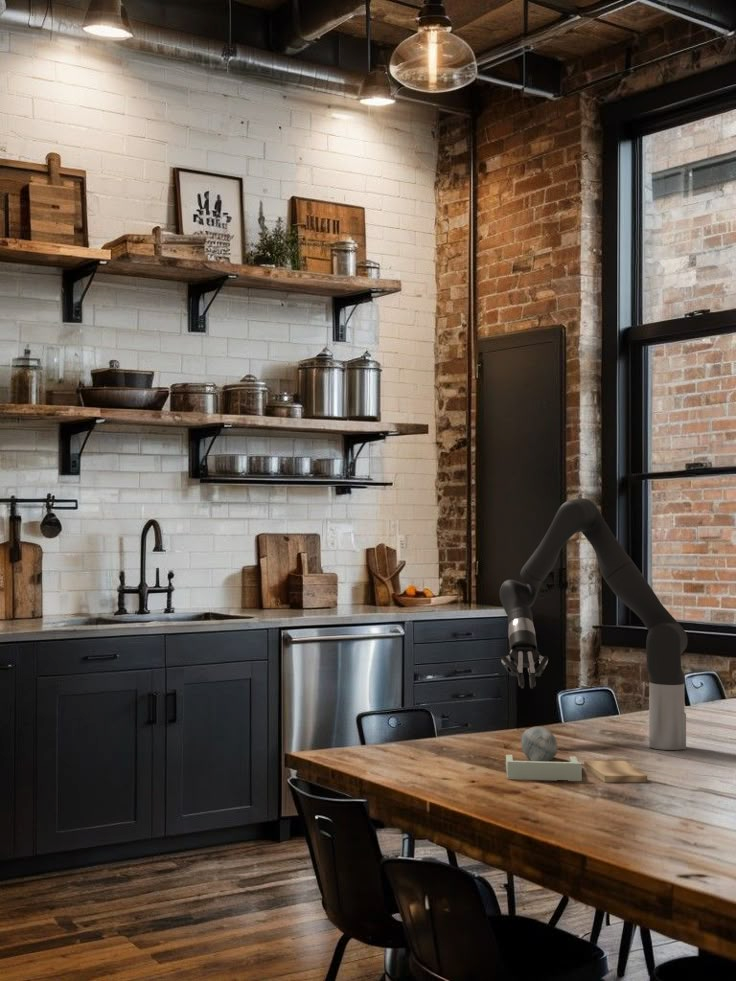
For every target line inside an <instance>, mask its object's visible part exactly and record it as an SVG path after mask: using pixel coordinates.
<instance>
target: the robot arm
mask: <svg viewBox="0 0 736 981" xmlns="http://www.w3.org/2000/svg"><path fill="white" fill-rule="evenodd" d="M580 532H581V533H582V535H583V536H584V537H585V538H586V539H587V541H588V542H589V544H590V545H591V546H592V549H593V551H594V553H595V556H596V560H597V564H598V568H599V571H600V574H601V576H602V578H603V579H604V581H605V582H606V584H607V585H608V587H609V589H611V591H612V592H613V593H614V595H615V597H617V598H618V599H619V600H620V601H621V603H623V604H624V605H625V606H626V607H628V608H629V609H630V610H631V611H632V612H633V613H634V614H635V615H636V616H637V617H638V618H639V619H640V620H641V621H642V623H643V625H644V626H645V627H646V629H647V630H648V633H647V636H646V642H645V643H646V644H645V646H646V647H645V649H646V652H645V653H646V655H645V656H646V670H647V674H648V681H649V682H648V683H649V684H648V698H649V700H648V701H649V702H648V715H649V716H648V745H649V748H652V749H656V750H662V751H663V750H664V751H680V750H687V713H686V712H685V710H686V709H685V706H686V705H685V674H684V672H683V670H682V668H683V667H682V659H681V658H682V657H681V655H682V653H684V651H685V650H686V649H687V646H688V635H687V633H686V631H685V629H684V628H683V626H682V625H681V624H680V623H679V622H678V621H677V620H676V618H674V617H673V615H672V614H671V613H670V612H669V611H668V609H667V608H665V606H664V605H663V603H662V602H661V601H660V599H659V597H657V594H656V593H655V592H654V590H653V588H652V587H651V586H650V584H649V583H648V581H647V580H646V578H645V576H644V575H643V573H642V572H641V571H640V569H639V568H638V566H637V565H636V564H635V563H634V561H633V559H632V558H631V557H630V556H629V554H628V553H627V551H626V550H625V549H624V547H623V546H622V545H621V543H620V542H619V540H618V539H617V538H616V537H615V535H614V534H613V532H612V531H611V528H610V527H609V525H608V523H607V521H605V519H604V516H603V515H602V512H601V511H600V509H599V508H598V507H597V505H596V504H595V503H594V502H593V501H592V500H590V499H588V498H582V497H581V498H576V499H570V500H567V501H565V502H564V503H562V504H561V505H560V507H559V508H558V510H557V512H556V513H555V515H554V517H553V520H552V521H551V524H550V525H549V528H548V529H547V531H546V533H545V535H544V537H543V538H542V540H541V541H540V543H539V545H538V546H537V547H536V549H535V550H534V551H533V553H532V554H531V555H530V557H529V558H528V559H527V561H526V563H525V564H524V565H523V566H522V568H521V570H520V577H521V579H522V580H523V581H524V582H525V583H526V584H525V583H522V582H520V581H517V580H514V579H507V580H505V581H503V583H502V584H501V586H500V588H499V600H500V602H501V605H502V607H503V610H504V612H505V614H506V616H507V624H508V641H509V643H508V644H509V654H508V655H502V656H501V663H500V664H502V666H503V667H504V668H505V670H506V671H507V672H508V673H509V675H510V676H511V677H517V682H518V687H520V688H521V689H524V688H525V675H524V673H523V668H524V669H525V668H526V669H527V672H528V675H529V677H528V680H529V687H530V689H534V687H536V683H537V682H536V681H537V680H536V677H541V675H542V674H543V672H544V670H545V668H546V667H547V665H548V661H549V656H547V655H544V656H542V655H541V654H540V652H539V651H538V645H537V638H536V630H535V627H534V620H533V618H534V617H533V613H532V609H531V607H532V606H533V605H534V603H535V601H536V599H537V596H538V594H539V593H538V592H539V590H540V588H541V586H542V584H543V582H544V581H545V579H546V578H547V577H548V576H549V574H550V573H551V571H552V570H553V569H554V567H555V565H556V563H557V561H558V558H559V554H560V552H561V550H562V549H563V547H564V546H565V544H566V543H567V542H568V541H569V540H570V538H572V537H573V536H574V535H575V534H577V533H580ZM537 662H539V664H538V667H537V668H536V669H535V664H536V663H537ZM513 664H514V665H515V666H516V667H515V666H514V665H513Z"/></svg>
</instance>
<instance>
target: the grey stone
mask: <svg viewBox="0 0 736 981" xmlns="http://www.w3.org/2000/svg"><path fill="white" fill-rule="evenodd" d="M520 741H521V747H522V748H521V749H522V750H523V753H524V756H525V757H526V758H527V759H528V761H544V762H550V761H552V759H553V758H554V757H555V756H556V755H557V753H558V743H557V739H556V738H555V736H554V734H553V732H551V731H550V730H549V729H548V728H547V727H544V726H533V727H530V728H527V729H525V731H524V732H523V733H522V735H521V740H520Z"/></svg>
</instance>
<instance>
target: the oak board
mask: <svg viewBox="0 0 736 981" xmlns="http://www.w3.org/2000/svg"><path fill="white" fill-rule="evenodd" d="M583 762H584V763H583V767H585V768H584V769H586V770H587V769H588V770H587V771H589V773H591V772H592V773H591V774H593V775H594V776H595V777H596V778H598V779H599V778H600V779H599V780H600V781H602V782H603V783H648V774H645V772H642V771H641V770H639V769H638V768H636V767H635V766H633V765H632V764H630V763H628V761H625V760H586V761H585V760H584V761H583Z"/></svg>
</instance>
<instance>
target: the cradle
mask: <svg viewBox="0 0 736 981" xmlns="http://www.w3.org/2000/svg"><path fill="white" fill-rule="evenodd" d="M582 769H583V764H582V762H579V761H578V758H577V756H569V761H548V762H544V761H530V760H514V759H513V754H505V770H506V777H507V778H506V779H507V780H521V781H522V780H526V781H527V780H528V781H532V780H533V781H557V780H568V781H567V782H582V779H583V778H582V776H583V775H582V774H583V770H582Z"/></svg>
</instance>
